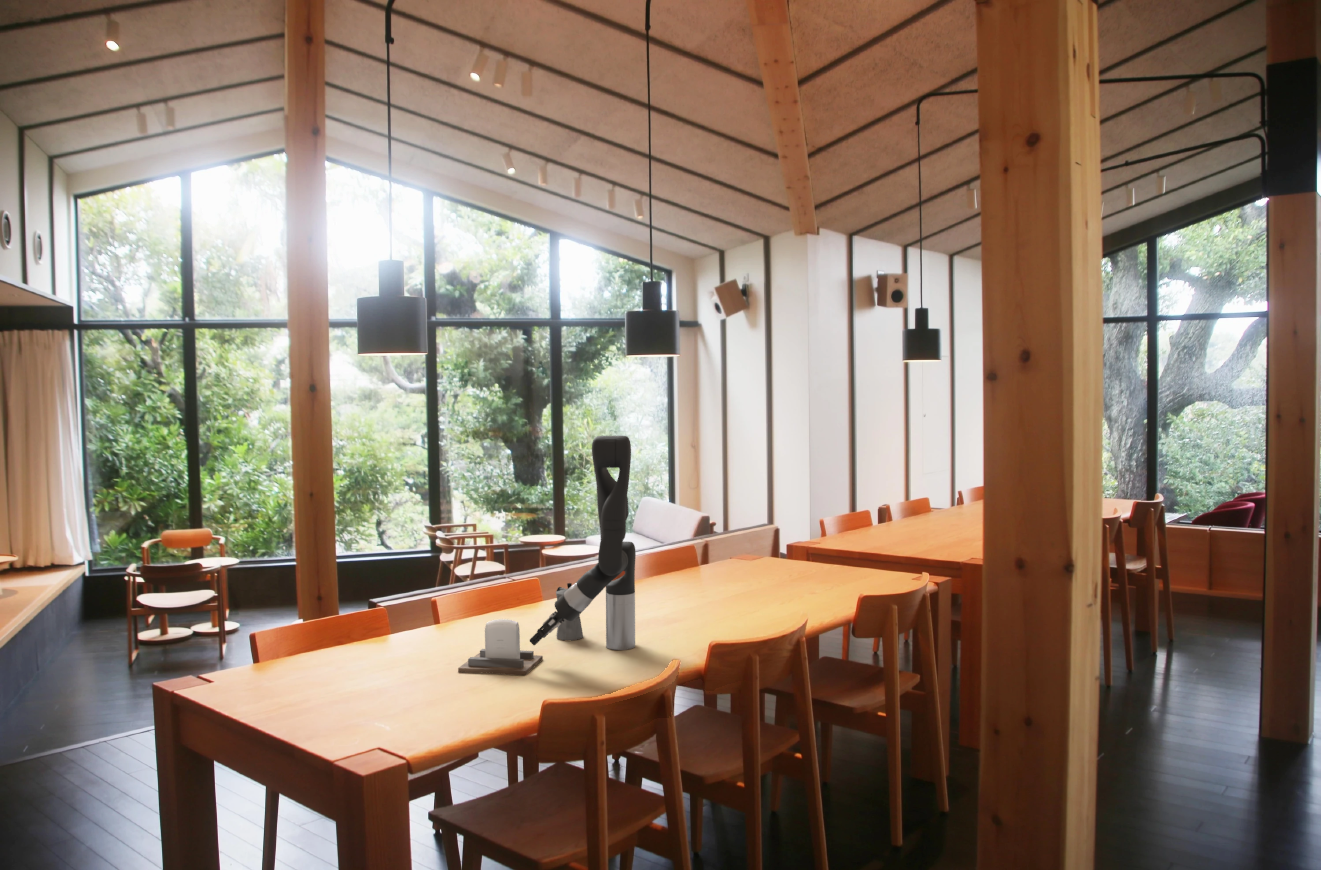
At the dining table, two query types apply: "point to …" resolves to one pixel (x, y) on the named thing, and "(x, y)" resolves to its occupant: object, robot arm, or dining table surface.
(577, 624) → the coffeepot
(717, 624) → the dining table surface
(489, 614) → the dining table surface
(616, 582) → the robot arm
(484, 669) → the cradle
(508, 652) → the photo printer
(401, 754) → the dining table surface
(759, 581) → the dining table surface
